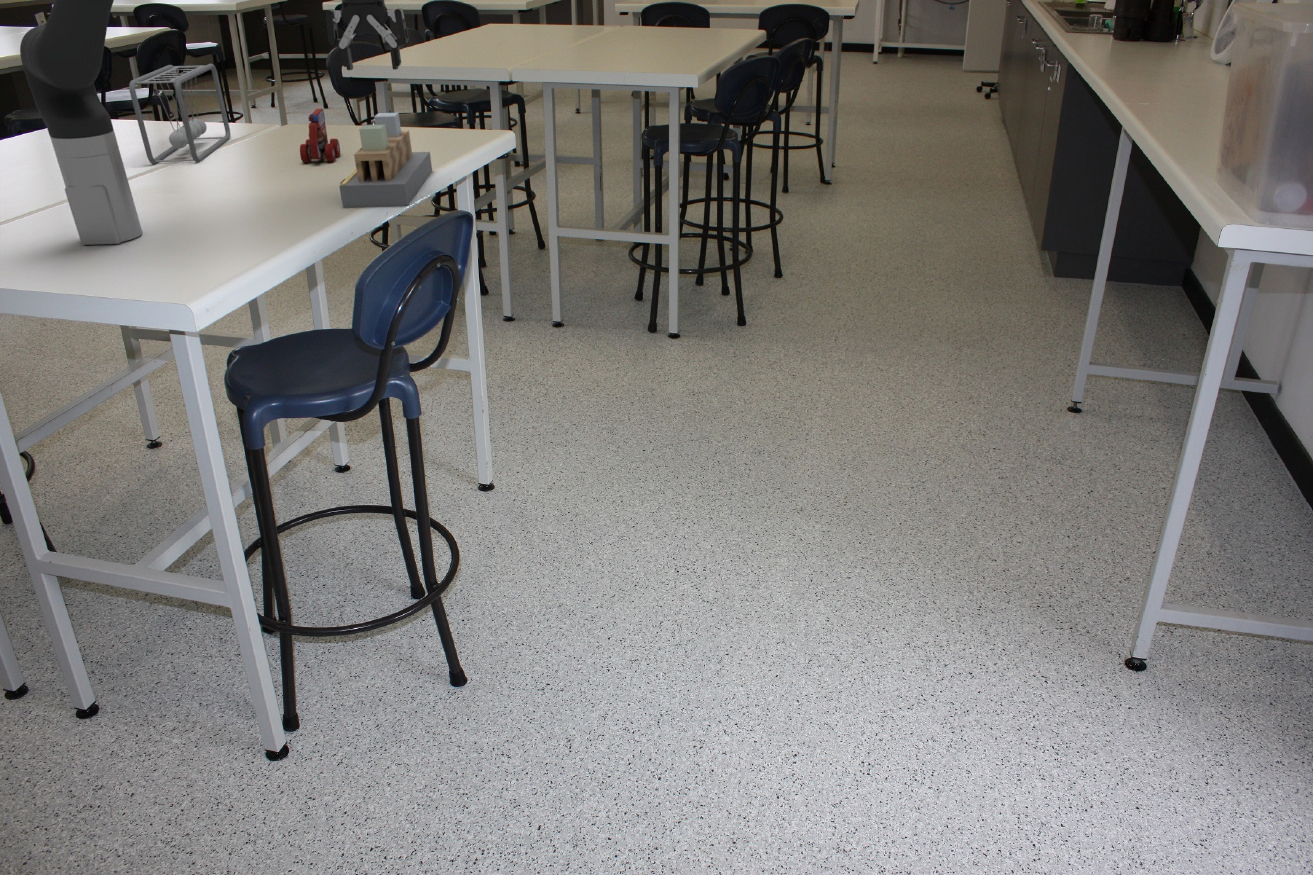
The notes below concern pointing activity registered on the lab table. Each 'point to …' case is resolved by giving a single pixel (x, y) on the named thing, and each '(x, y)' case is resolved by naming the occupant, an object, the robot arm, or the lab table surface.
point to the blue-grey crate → (389, 123)
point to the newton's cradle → (189, 129)
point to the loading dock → (388, 185)
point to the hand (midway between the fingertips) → (373, 69)
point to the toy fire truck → (319, 140)
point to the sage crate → (373, 137)
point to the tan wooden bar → (384, 159)
